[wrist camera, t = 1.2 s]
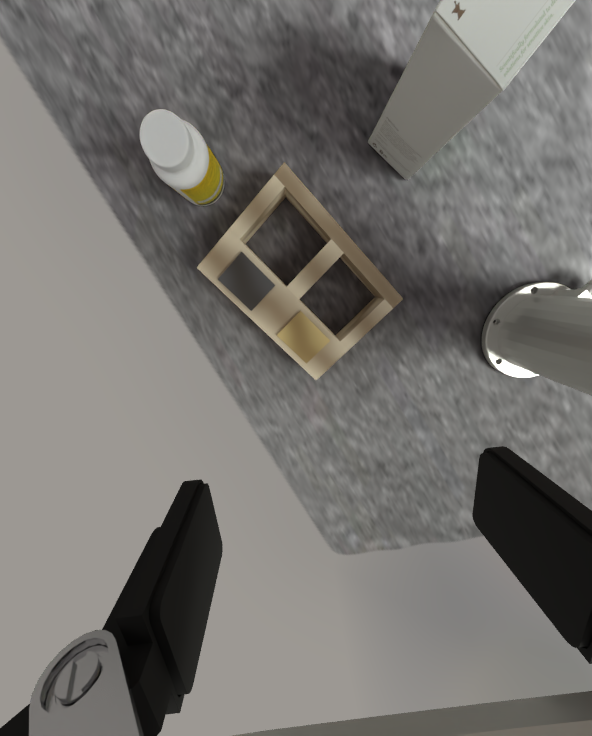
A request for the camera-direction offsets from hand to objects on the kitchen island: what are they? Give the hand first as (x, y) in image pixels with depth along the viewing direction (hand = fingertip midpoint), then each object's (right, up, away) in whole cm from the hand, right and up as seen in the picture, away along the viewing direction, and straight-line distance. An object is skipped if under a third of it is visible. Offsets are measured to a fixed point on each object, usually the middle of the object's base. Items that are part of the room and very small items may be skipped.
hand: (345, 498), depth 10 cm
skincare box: (+11, +31, +21) cm, 39 cm away
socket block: (-1, +15, +26) cm, 30 cm away
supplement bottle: (-12, +26, +23) cm, 37 cm away
